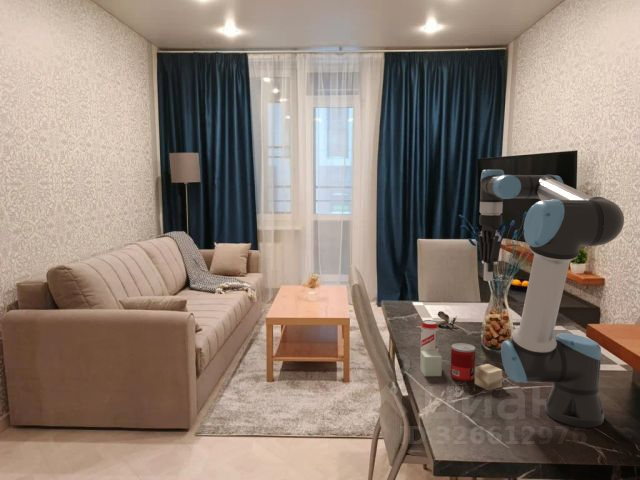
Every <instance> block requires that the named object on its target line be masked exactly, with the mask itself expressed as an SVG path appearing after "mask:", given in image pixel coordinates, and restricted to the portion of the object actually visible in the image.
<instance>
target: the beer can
mask: <svg viewBox="0 0 640 480" xmlns="http://www.w3.org/2000/svg"><path fill="white" fill-rule="evenodd" d="M437 323H438V321H437V320H432V319H426V320H423V321H422V323H421V326H420V331H421V332H420V352H421V351H438V352H439V329H440V328H439V325H437ZM419 360H420V362H421V355H420V359H419Z"/></svg>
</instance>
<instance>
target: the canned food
mask: <svg viewBox="0 0 640 480" xmlns="http://www.w3.org/2000/svg"><path fill="white" fill-rule="evenodd" d="M450 351H451V352H450V377H451V378H452V379H453V380H456V381H460V382H471V381H473V380H475V367H476V366H475V365H476V347H475V346H474V345H473V344H469V343H464V342H458V343H453V344H452V345H451V349H450Z"/></svg>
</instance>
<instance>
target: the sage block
mask: <svg viewBox="0 0 640 480" xmlns="http://www.w3.org/2000/svg"><path fill="white" fill-rule="evenodd" d="M420 356H421V361H420V364H419V365H420V366H419V367H420V368H419V369H420V371H421V373H422V375H423V376H424V377H442V374H443V371H442V367H443V356H442V355H441V354H440V352H439V350H438V351H421V350H420Z"/></svg>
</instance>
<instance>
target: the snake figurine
mask: <svg viewBox="0 0 640 480" xmlns="http://www.w3.org/2000/svg"><path fill="white" fill-rule="evenodd" d="M437 316H438V318H440V319H441V320H442V321H437V325H438V326H445V325H446V326H447V325H450V326H451V327H452V328H454V327H455V326H454V325H455V323H456V320H457V317H458V316H457V315H456V316H455V317H450V316H449V314H447V313H446V312H444V311H443V310H441V311H438V312H437ZM451 322H452V323H451Z"/></svg>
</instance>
